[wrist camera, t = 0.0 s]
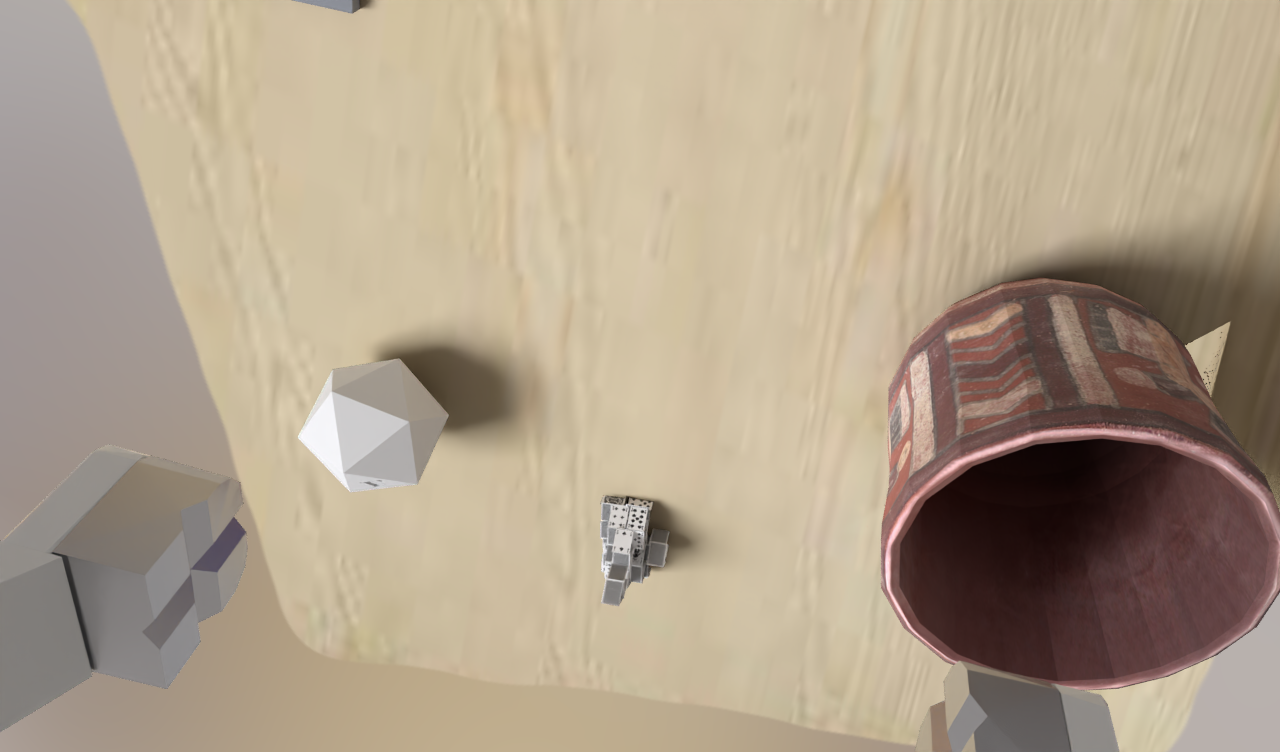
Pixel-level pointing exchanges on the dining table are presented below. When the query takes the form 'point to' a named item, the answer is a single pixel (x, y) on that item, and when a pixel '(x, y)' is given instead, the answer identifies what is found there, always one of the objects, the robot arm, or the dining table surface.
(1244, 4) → the dining table surface
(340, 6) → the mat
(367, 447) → the die
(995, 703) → the robot arm
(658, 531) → the house of cards
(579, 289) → the dining table surface
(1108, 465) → the pottery
